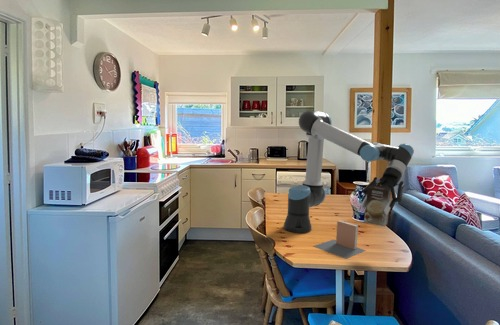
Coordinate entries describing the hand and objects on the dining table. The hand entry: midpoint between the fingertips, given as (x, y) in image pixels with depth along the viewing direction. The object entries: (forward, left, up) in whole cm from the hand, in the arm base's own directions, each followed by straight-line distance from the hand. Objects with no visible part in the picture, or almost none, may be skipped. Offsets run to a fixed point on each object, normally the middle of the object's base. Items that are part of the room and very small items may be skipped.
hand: (373, 209), depth 146 cm
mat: (-13, -5, -21) cm, 25 cm away
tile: (-13, 0, -20) cm, 24 cm away
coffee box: (0, +3, -7) cm, 7 cm away
